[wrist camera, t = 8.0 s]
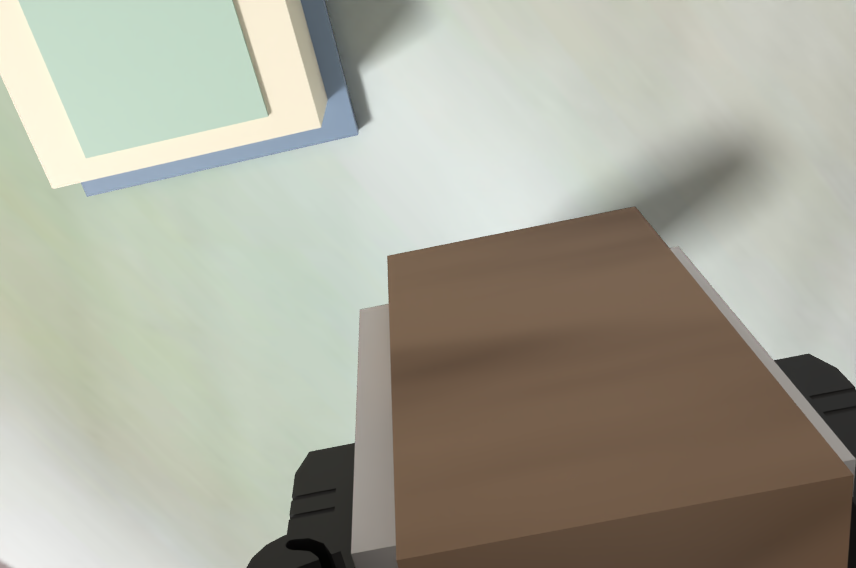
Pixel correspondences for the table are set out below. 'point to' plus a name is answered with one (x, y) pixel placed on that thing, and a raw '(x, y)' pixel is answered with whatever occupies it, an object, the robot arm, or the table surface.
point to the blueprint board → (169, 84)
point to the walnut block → (593, 414)
